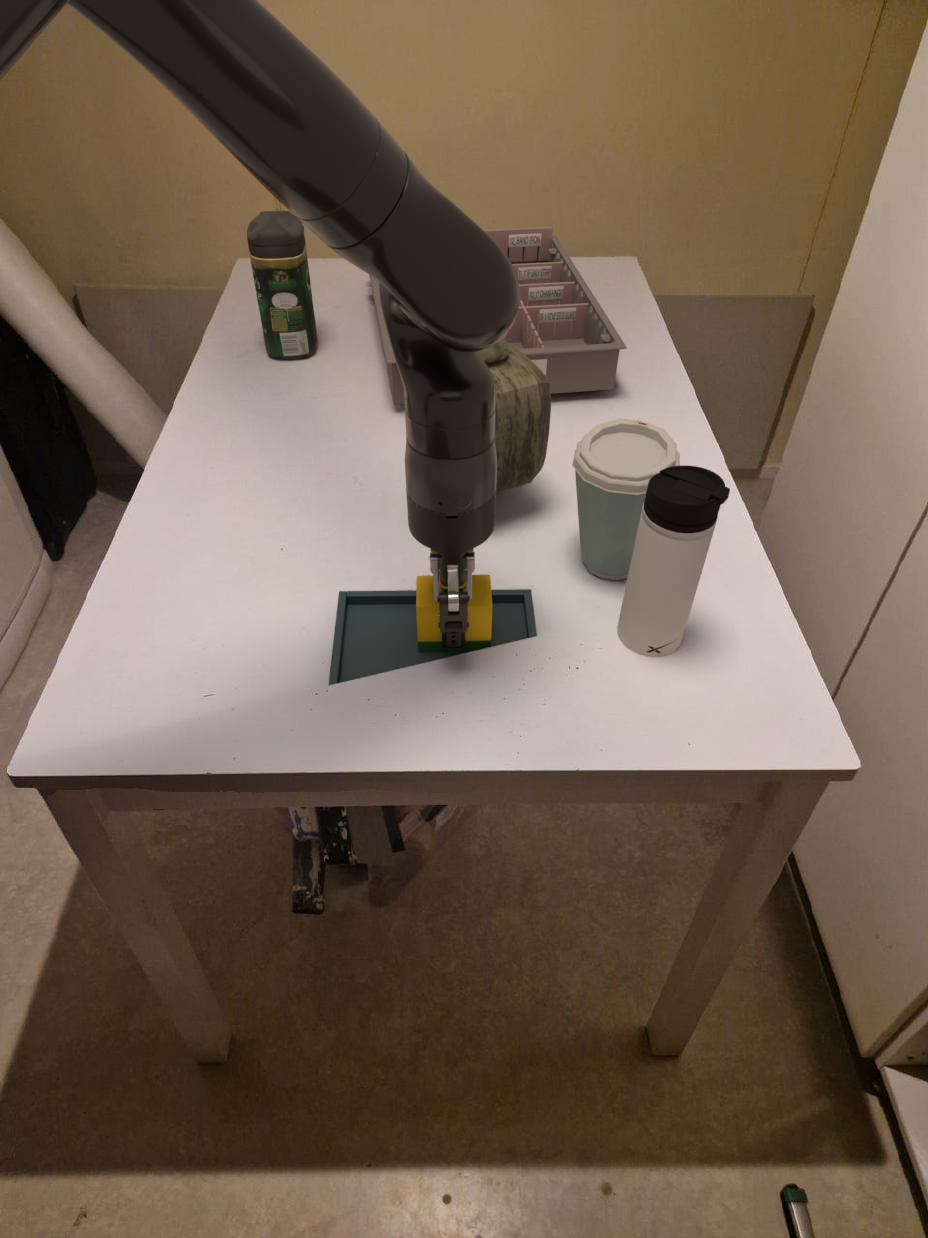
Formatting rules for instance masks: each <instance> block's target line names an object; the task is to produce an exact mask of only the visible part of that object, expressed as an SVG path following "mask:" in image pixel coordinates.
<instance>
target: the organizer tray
mask: <svg viewBox="0 0 928 1238" xmlns="http://www.w3.org/2000/svg"><path fill="white" fill-rule="evenodd" d="M553 229H554V228H553V227H552V226H543V227H523V228H522V227H519V228H499V229H497V228H496V229H483V230H484V231H485V232H486V233H487V234H488V235H489V236H490V237H491V238H492V239H493V240H494V241H495V242H496V243H497V244H498V245H499V246H500V248H501V249H502V250H503V251H504V253H505V254H506V255H507V257H508V258H509V260H510V261H511V263H512V265H513V267H514V269H515V272H516V275H517V278H518V282H519V289H520V304H519V310H518V314H517V317H516V320H515V322H514V324H513V326H512V328H511V329H510V331H509V332H508V333H507V335H506V336H505V337H504V338H505V340H506V342H508V343H509V344H511V345H512V346H514V347H515V348H516V349H518V350H519V351H521V352H522V353H523V354H525V355H526V356H527V357H528V358H529V359H530V360H531V361H532V362H533V363H534V364H535V365H536V366H537V367H539V368H540V369H541V370H542V372H543V373H544V374H545V376H546V377H547V379H548V381H549V382H550V390H551V395H553V394H564V393H565V394H566V393H567V394H568V393H579V392H593V391H594V392H595V391H609V390H614V389H615V383H616V378H617V377H616V376H617V371H618V370H617V369H618V362H619V357H620V351H621V350H626V349H627V345H626V344H625V342H624V341H623V339H622V338H621V336H620V334H619V333H618V331H617V330H616V328H615V327H614V325H613V323H612V322H611V320H610V318H609V317H608V316H607V315H608V314H607V313H606V312H605V311H604V309H603V307H602V306H601V305H600V303H599V302H598V299H597V298H596V297H595V295H594V293H593V292H592V290H591V288H590V286H589V285H588V284H587V283H586V281H585V279H584V278H583V276H582V274H581V273H580V271H579V270H578V268H577V267H576V265H575V264H574V262H573V261H572V259H571V257H570V256H569V254H568V252H567V251H566V249H565V248H564V246H563V245H562V243H561V241H560V240H559V238H558V237H557V235H553ZM368 275H369V274H368ZM369 281H370V287H371V292H372V298H373V303H374V308H375V314H376V318H377V324H378V329H379V330H378V331H379V334H380V339H381V345H382V350H383V355H384V362H385V366H386V372H387V377H388V382H389V387H390V392H391V397H392V403H393V405H405V402H404V386H403V382H402V379H401V376H400V373H399V370H398V367H397V364H396V361H395V358H394V354H393V350H392V347H391V343H390V339H389V335H388V332H387V328H386V324H385V320H384V316H383V311H382V306H381V300H380V290H379V281H377V280H376V279H375V278H374V277H372V276H371V275H369Z"/></svg>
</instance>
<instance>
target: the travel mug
mask: <svg viewBox="0 0 928 1238" xmlns="http://www.w3.org/2000/svg"><path fill="white" fill-rule="evenodd" d="M730 491H731V489H730V487H727V486H726V483H725V481H724V479H723V478H722V476H720V475H719V474H717V473H716V472H715V471H712V470H710V469H707V468H704V467H701V466H697V465H696V466H695V465H680V466H672V467H668V468H665V469H663V470H661V471H660V473H658V474H655V475H654V476H653V477H652V478H651V479H650V480H649V483H648V487H647V491H646V497H645V500H644V503H643V506H642V512H641V516H640V521H639V525H638V530H637V535H636V540H635V545H634V549H633V554H632V559H631V564H630V569H629V573H628V578H626V583H625V588H624V592H623V598H622V603H621V608H620V611H619V616H618V622H617V626H616V631H617V636H618V639H619V640H620V642H621V643H622V644H623V646H625V647H626V648H627V649H628V650H630V651H632V652H633V653H635V654H638V655H641V656H645V657H652V658H660V657H666V656H668V655H671V654H673V653H674V652H676V651H677V650H678V649H679V648H680V646H681V645H682V642H683V639H684V634H685V632H686V628H687V624H688V621H689V618H690V614H691V611H692V608H693V605H694V604H693V603H694V601H695V597H696V593H697V590H698V586H699V583H700V580H701V576H702V573H703V571H704V570H703V569H704V566H705V562H706V559H707V556H708V553H709V549H710V545H711V542H712V539H713V535H714V531H715V529H716V525H717V521H718V517H719V511H720V510H721V505H723V504H724V503H726V502H727V500H728V499H729V496H730V493H731V492H730Z"/></svg>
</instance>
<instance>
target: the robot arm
mask: <svg viewBox="0 0 928 1238" xmlns="http://www.w3.org/2000/svg"><path fill="white" fill-rule="evenodd" d="M67 5H68V6H69V7H71V8H72V9H73V10H74V11H76V12H77V13H78V14H79V15H80V16H82V17H84V19H86V20H87V21H88V22H89V23H91V24H92V25H93V26H94V27H96V28H97V29H98V30H100V31H101V32H102V33H103V34H104V35H105V36H107V37H108V38H109V39H110V40H111V41H113V43H115V44H116V45H117V46H118V47H120V48H121V49H122V50H123V51H124V52H126V53H127V54H128V55H129V56H130V57H131V58H132V59H134V60H135V61H136V62H137V63H138V64H139V65H140V66H141V67H142V68H144V70H145V71H147V72H148V73H149V74H150V75H151V76H152V77H154V78H155V80H157V81H158V82H159V84H161V85H162V86H163V88H165V89H166V90H167V91H168V92H169V93H170V94H171V95H173V97H174V98H175V99H177V100H178V102H180V103H181V104H182V105H183V107H184V108H186V110H187V111H188V112H190V113H191V114H192V115H193V117H194V118H195V119H197V121H198V122H200V123H201V124H202V125H203V126H204V127H205V129H206V130H208V131H209V132H210V133H211V134H212V136H214V138H215V139H217V141H218V142H219V143H221V145H222V146H223V147H224V148H225V149H226V150H227V151H228V152H229V153H230V154H231V155H232V156H233V157H234V158H235V159H236V160H237V161H238V162H239V164H241V165H242V166H243V168H245V170H247V171H248V172H249V173H250V175H252V176H253V177H254V179H256V181H258V182H259V184H260V185H262V187H264V188H265V190H267V191H268V192H269V194H270V195H272V196H273V197H274V198H275V199H276V200H277V201H278V202H279V203H280V204H281V205H282V206H284V207H285V209H287V211H289V212H290V213H291V214H293V215H295V216H296V217H297V218H298V219H299V220H300V221H301V222H302V225H303V226H304V227H306V228H307V229H309V230H310V231H311V233H312V234H314V235H315V236H316V237H317V238H319V239H320V240H321V241H322V242H323V243H324V244H325V245H326V246H327V247H329V248H330V249H331V250H332V251H333V252H335V253H336V254H337V255H338V256H340V257H341V258H343V259H344V260H345V261H347V262H349V263H350V264H351V265H353V266H355V267H356V268H357V269H359V270H361V271H363V272H364V273H366V274H368V275H371V276H372V277H374V278H375V279H376V280H377V281H379V290H380V300H381V306H382V311H383V316H384V320H385V324H386V328H387V332H388V335H389V339H390V343H391V347H392V350H393V354H394V358H395V361H396V364H397V367H398V370H399V373H400V376H401V379H402V382H403V386H404V402H405V404H404V419H405V420H404V421H405V451H404V475H405V491H406V507H407V525H408V529H409V532H410V534H411V536H412V538H414V539H415V540H416V541H417V542H418V543H419V544H421V545H423V546H424V547H426V548H428V549H430V552H429V568H430V572H431V574H433V575H432V576H433V579H434V599H435V601H436V602H438V603H439V611H440V614H438V616H439V619H440V623H438V627H439V628H440V632H442V646H443V647H444V648H462V647H464V646H465V632H467V628H469V622H468V602H469V601H470V600H471V599H472V575H473V573H474V572H475V570H476V554H475V553H476V552H475V551H474V550H475V549H474V548H477V547H479V546H481V545H482V544H483V543H485V542H486V541H487V540H489V538H490V537H491V535H492V534H493V532H494V530H495V526H496V510H497V509H496V508H497V493H496V480H497V454H496V446H495V416H496V387H495V380H494V377H493V375H492V372H491V371H490V369H489V367H488V366H487V365H486V363H485V362H484V361H483V360H482V359H481V358H480V356H479V355H478V354H477V352H476V351H481V350H484V349H487V348H489V347H491V346H493V345H495V344H497V343H498V342H499V341H501V340H502V339H503V338H504V337H505V336H506V335H507V333H508V332H509V331H510V329H511V328H512V326H513V324H514V322H515V320H516V317H517V314H518V310H519V304H520V289H519V282H518V278H517V275H516V272H515V269H514V267H513V265H512V263H511V261H510V260H509V258H508V257H507V255H506V254H505V253H504V251H503V250H502V249H501V248H500V246H499V245H498V244H497V243H496V242H495V241H494V240H493V239H492V238H491V237H490V236H489V235H488V234H487V233H486V232H485V231H484V230H485V229H483V228H482V227H481V226H479V224H478V223H476V222H475V221H474V220H473V219H472V218H471V217H470V216H468V215H467V214H466V213H465V212H464V211H463V210H462V209H461V208H460V207H459V206H457V205H456V204H455V203H454V202H453V201H452V200H451V199H449V198H448V197H447V196H446V195H444V194H443V193H442V192H441V191H440V190H438V188H437V187H435V186H434V185H433V184H432V183H431V181H429V180H428V178H426V177H425V176H424V174H423V173H422V172H421V171H420V170H419V169H418V166H416V164H415V162H413V160H412V159H411V157H409V155H408V154H407V153H406V151H405V150H404V149H403V147H402V146H401V145H400V143H398V142H397V140H396V139H395V138H394V137H393V136H392V134H391V133H390V132H389V131H388V130H387V129H386V128H385V126H384V125H383V124H382V123H381V122H380V120H379V119H378V118H377V117H376V116H375V115H374V113H372V112H371V109H369V108H368V107H367V106H366V104H365V103H364V102H363V101H362V100H361V99H360V98H359V97H358V96H357V95H356V93H355V92H354V91H353V90H352V89H351V88H350V87H349V86H348V85H347V84H346V83H345V82H344V81H343V80H342V79H341V78H340V77H339V76H338V75H337V74H336V72H334V71H333V70H332V69H331V68H330V67H329V66H328V65H327V64H326V63H325V62H324V61H323V60H322V59H321V57H319V56H317V54H316V53H315V52H313V50H312V49H311V48H309V46H307V45H306V43H304V42H303V41H302V40H301V39H300V38H299V37H298V36H297V35H296V34H294V33H293V32H292V31H291V30H290V29H289V28H288V27H287V26H286V25H285V24H284V23H283V22H281V20H279V19H278V18H277V17H276V15H274V14H273V13H272V12H271V11H270V10H269V9H268V8H266V6H265V5H264V4H262V2H260V1H259V0H0V82H1V81H2V80H3V78H4V77H6V75H7V74H8V73H9V72H10V70H11V69H12V68H13V67H14V66H15V64H16V63H17V62H19V60H20V59H21V58H22V56H23V55H24V54H25V53H26V51H27V50H28V49H29V48H30V47H31V45H33V44H34V42H35V41H36V40H37V39H38V38H39V36H40V35H41V34H42V33H43V32H44V31H45V29H46V28H47V27H48V26H49V25H50V24H51V22H52V21H53V20H54V19H55V18H56V17H57V16H58V14H60V13H61V12H62V10H63V9H64V8H65V6H67ZM439 575H440V581H441V584H442V585H443V586H445V587H448V589H444V588H441V587H440V584H439ZM465 575H466V585H465V587H464V588H459V587H460V586H462V585H464V582H465Z"/></svg>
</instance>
